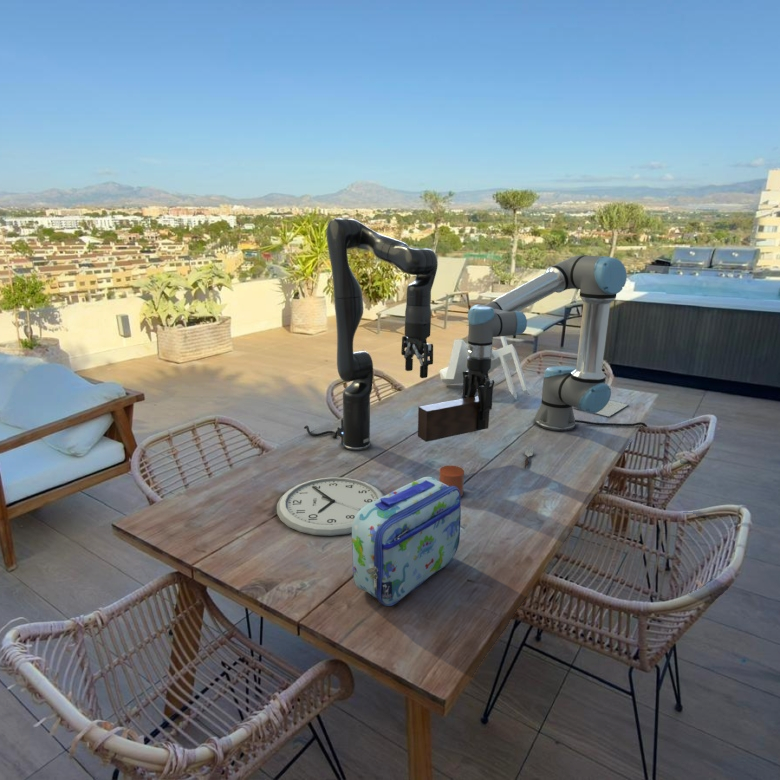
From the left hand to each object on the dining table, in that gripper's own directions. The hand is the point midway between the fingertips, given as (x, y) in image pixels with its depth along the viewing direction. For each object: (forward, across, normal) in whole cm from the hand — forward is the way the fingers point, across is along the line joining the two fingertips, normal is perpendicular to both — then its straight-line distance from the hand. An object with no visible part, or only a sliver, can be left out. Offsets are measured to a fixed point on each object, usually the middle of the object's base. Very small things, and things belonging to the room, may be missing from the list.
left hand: (416, 374), depth 156 cm
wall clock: (+31, +10, -31) cm, 45 cm away
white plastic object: (+31, -56, +69) cm, 94 cm away
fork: (+31, +11, +37) cm, 50 cm away
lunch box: (+31, +46, -28) cm, 62 cm away
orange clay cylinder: (+31, +18, +2) cm, 36 cm away
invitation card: (+31, -16, +104) cm, 110 cm away
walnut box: (+21, +1, +14) cm, 25 cm away
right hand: (+20, +1, +23) cm, 30 cm away
